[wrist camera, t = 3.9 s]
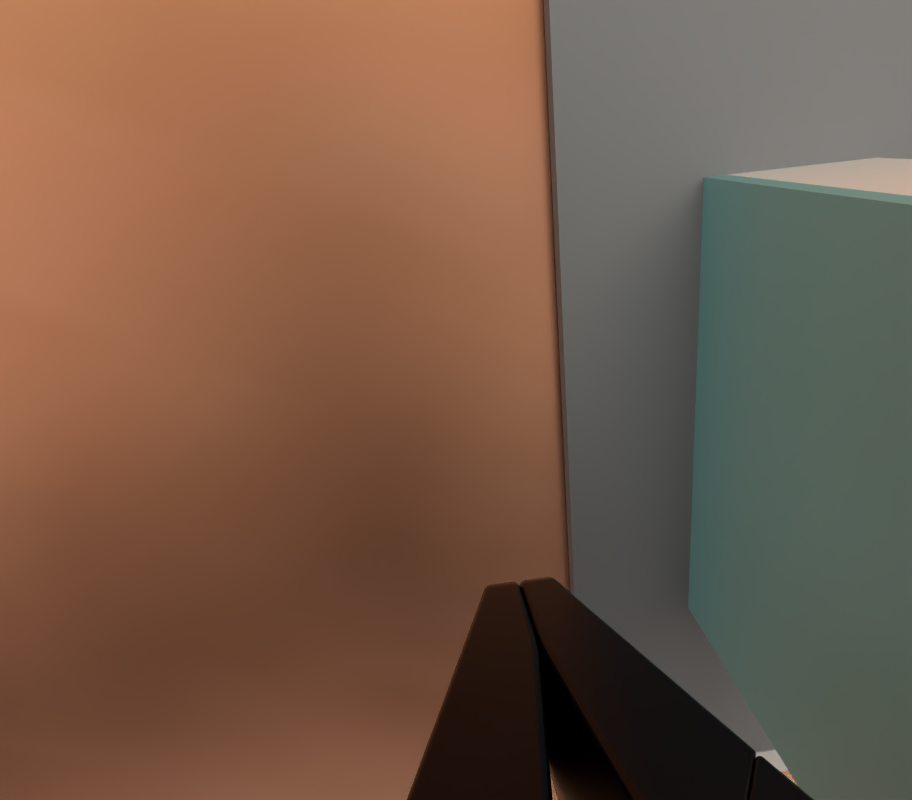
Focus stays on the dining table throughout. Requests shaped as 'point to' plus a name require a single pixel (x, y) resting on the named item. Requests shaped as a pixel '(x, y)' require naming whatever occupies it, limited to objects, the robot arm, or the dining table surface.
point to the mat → (679, 258)
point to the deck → (810, 464)
